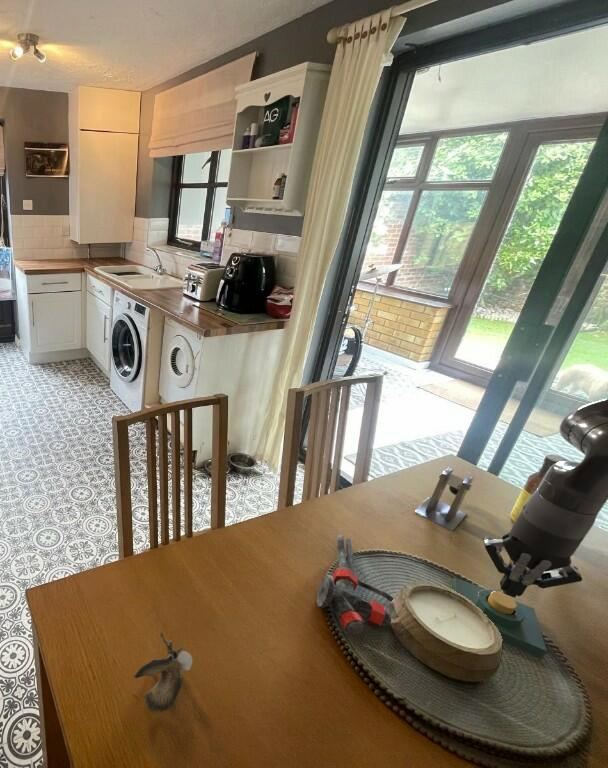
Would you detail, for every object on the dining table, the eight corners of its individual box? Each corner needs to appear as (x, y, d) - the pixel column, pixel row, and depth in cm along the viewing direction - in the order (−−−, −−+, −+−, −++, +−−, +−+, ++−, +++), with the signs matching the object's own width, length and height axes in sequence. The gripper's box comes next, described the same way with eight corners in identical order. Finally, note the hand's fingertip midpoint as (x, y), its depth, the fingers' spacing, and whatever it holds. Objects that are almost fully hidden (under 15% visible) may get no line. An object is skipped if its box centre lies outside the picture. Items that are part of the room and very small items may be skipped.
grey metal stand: (428, 500, 109) (445, 460, 104) (465, 517, 104) (485, 476, 98) (412, 515, 104) (430, 474, 99) (450, 534, 98) (471, 492, 93)
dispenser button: (510, 603, 78) (514, 597, 77) (514, 618, 75) (518, 612, 74) (486, 594, 79) (489, 587, 79) (488, 608, 77) (492, 601, 76)
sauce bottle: (544, 529, 100) (586, 462, 92) (537, 539, 97) (580, 471, 89) (509, 513, 105) (545, 448, 97) (501, 523, 102) (538, 457, 94)
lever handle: (446, 492, 109) (453, 480, 109) (463, 499, 107) (470, 487, 106) (441, 483, 100) (449, 470, 100) (460, 491, 97) (467, 477, 97)
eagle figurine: (146, 639, 73) (122, 677, 66) (172, 624, 70) (150, 663, 62) (176, 677, 71) (155, 722, 64) (204, 664, 68) (185, 709, 60)
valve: (405, 671, 71) (314, 626, 76) (384, 567, 93) (314, 537, 98) (424, 649, 69) (328, 604, 74) (397, 547, 90) (324, 517, 95)
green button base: (528, 615, 79) (538, 601, 78) (541, 659, 72) (552, 644, 70) (450, 584, 86) (457, 571, 84) (454, 621, 78) (462, 607, 76)
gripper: (504, 517, 69) (464, 588, 76) (620, 553, 62) (564, 628, 69) (497, 493, 74) (460, 562, 82) (603, 524, 68) (552, 596, 75)
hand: (508, 592), depth 76 cm, fingers closed
